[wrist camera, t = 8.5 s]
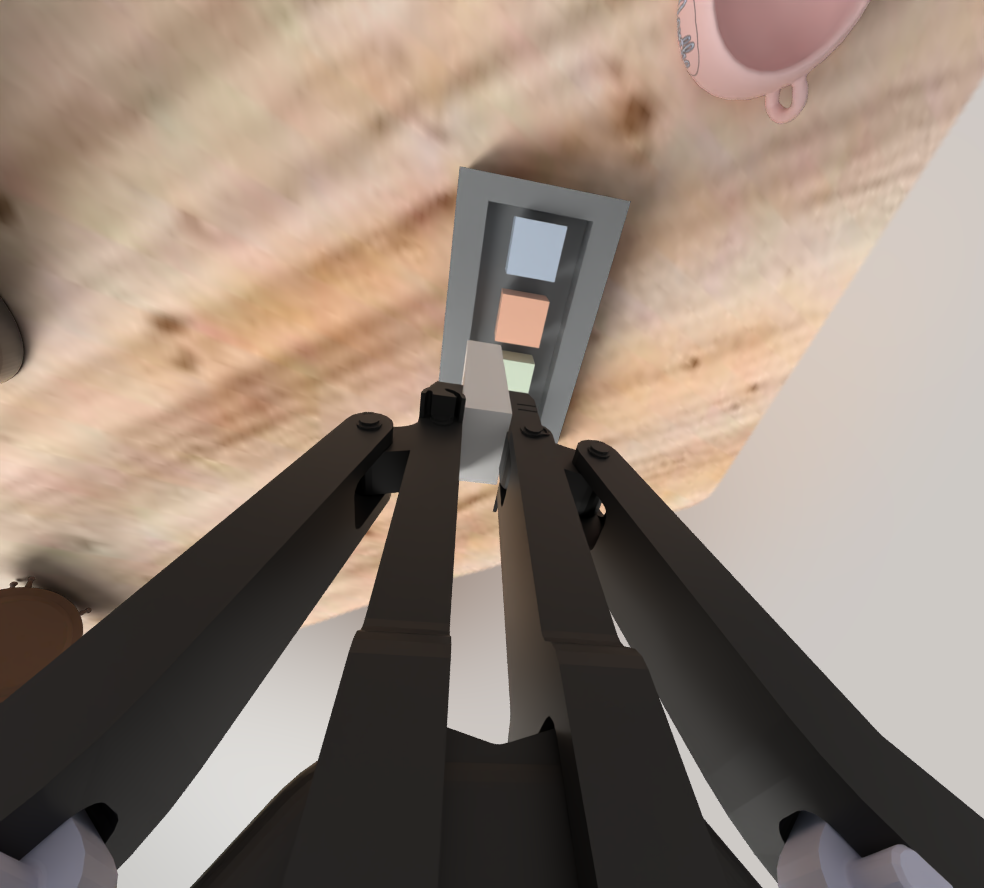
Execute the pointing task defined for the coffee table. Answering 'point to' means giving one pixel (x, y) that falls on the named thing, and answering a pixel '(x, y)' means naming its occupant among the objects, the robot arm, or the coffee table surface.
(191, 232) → the coffee table surface
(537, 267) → the key
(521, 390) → the key
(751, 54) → the mug
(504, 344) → the gray rectangular tray
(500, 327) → the key
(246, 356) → the coffee table surface
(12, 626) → the alarm clock
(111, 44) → the coffee table surface
